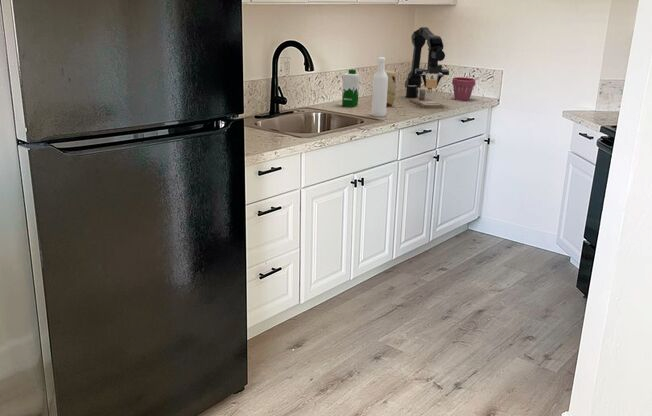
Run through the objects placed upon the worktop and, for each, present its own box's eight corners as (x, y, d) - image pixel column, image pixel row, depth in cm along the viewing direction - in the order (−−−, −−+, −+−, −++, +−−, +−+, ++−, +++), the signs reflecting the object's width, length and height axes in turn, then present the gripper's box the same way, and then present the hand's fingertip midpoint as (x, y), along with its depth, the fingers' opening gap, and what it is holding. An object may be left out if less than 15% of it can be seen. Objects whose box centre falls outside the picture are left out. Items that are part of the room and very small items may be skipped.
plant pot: (475, 101, 383) (477, 80, 379) (452, 101, 383) (454, 79, 379) (471, 97, 397) (473, 77, 393) (448, 97, 397) (450, 76, 393)
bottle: (371, 116, 329) (374, 58, 319) (370, 113, 336) (373, 56, 327) (386, 117, 329) (390, 58, 319) (385, 114, 337) (388, 57, 327)
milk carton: (359, 105, 360) (361, 70, 354) (354, 107, 352) (356, 71, 346) (345, 104, 363) (346, 68, 356) (339, 106, 355) (341, 70, 348)
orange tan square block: (426, 87, 358) (426, 80, 356) (425, 86, 363) (425, 79, 362) (436, 87, 357) (437, 80, 356) (435, 86, 363) (436, 79, 362)
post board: (408, 100, 379) (409, 88, 377) (427, 100, 382) (428, 88, 379) (423, 108, 357) (424, 94, 355) (443, 107, 360) (444, 94, 357)
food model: (376, 105, 362) (378, 70, 355) (381, 103, 367) (383, 69, 360) (391, 107, 357) (394, 71, 350) (396, 105, 362) (399, 70, 356)
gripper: (418, 60, 348) (416, 88, 353) (451, 61, 348) (449, 89, 353) (415, 58, 358) (413, 85, 364) (448, 59, 358) (446, 86, 363)
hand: (430, 86), depth 360 cm, fingers closed on orange tan square block, 6 cm apart
